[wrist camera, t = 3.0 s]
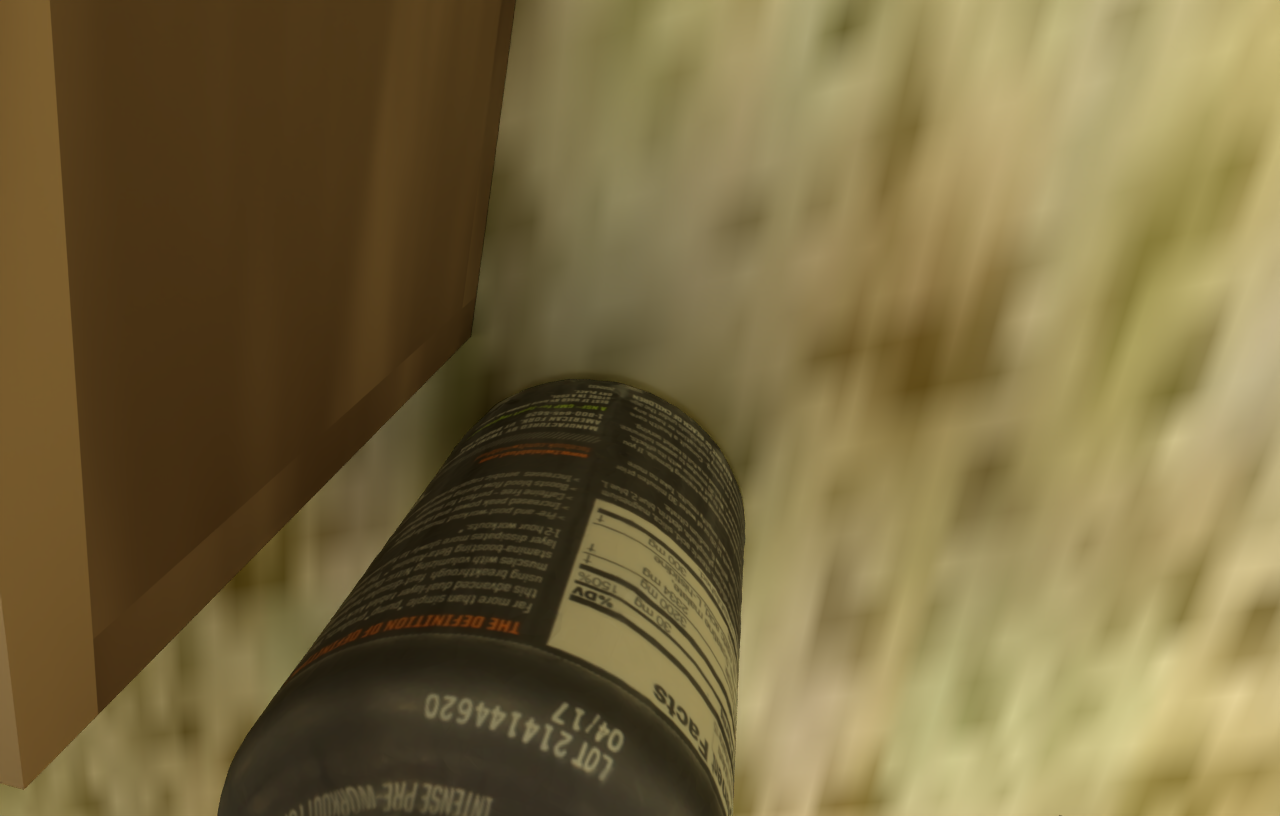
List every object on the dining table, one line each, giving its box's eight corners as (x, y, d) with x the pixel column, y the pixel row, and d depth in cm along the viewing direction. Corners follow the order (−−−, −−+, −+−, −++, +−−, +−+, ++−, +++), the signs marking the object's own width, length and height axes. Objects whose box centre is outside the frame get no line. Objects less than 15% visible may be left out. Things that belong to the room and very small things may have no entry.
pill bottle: (451, 607, 19) (73, 1288, 9) (454, 350, 17) (-62, 869, 6) (726, 653, 19) (670, 1433, 8) (769, 394, 16) (765, 1037, 6)
